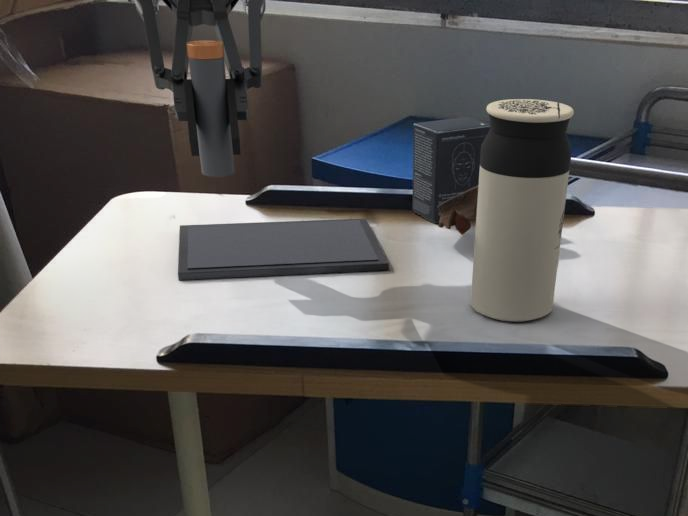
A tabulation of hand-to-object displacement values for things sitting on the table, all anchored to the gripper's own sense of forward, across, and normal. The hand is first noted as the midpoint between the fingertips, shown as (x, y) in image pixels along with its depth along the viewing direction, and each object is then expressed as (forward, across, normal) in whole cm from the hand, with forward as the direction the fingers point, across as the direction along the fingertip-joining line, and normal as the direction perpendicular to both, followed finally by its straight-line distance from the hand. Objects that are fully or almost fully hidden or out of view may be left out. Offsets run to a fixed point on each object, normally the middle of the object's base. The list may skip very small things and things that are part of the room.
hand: (215, 147), depth 88 cm
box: (-2, -28, -19) cm, 34 cm away
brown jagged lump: (+7, -30, -10) cm, 32 cm away
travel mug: (+20, -27, +3) cm, 34 cm away
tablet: (+6, -6, -11) cm, 14 cm away
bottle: (0, 0, -5) cm, 5 cm away
